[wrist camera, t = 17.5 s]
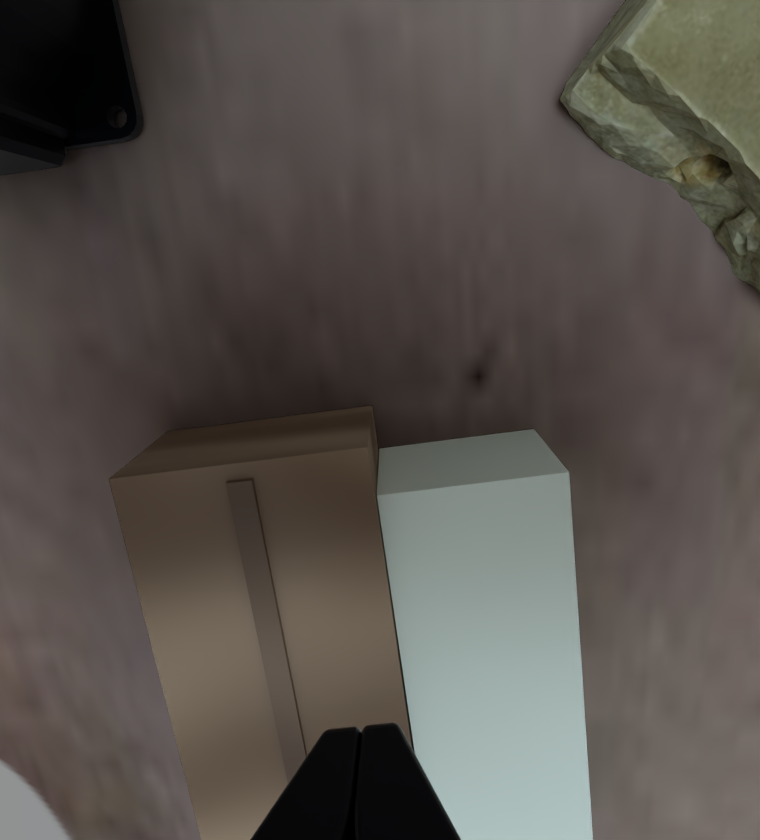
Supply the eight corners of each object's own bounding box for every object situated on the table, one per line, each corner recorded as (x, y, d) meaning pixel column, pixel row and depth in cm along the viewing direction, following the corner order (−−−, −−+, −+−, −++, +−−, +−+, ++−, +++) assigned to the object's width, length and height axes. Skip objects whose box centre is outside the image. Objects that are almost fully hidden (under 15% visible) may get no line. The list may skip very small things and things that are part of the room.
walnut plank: (167, 431, 18) (105, 481, 14) (372, 405, 18) (367, 449, 14) (265, 862, 22) (238, 995, 18) (434, 847, 22) (443, 978, 18)
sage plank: (562, 810, 22) (598, 929, 18) (433, 822, 22) (442, 942, 18) (531, 426, 18) (568, 472, 15) (379, 445, 19) (376, 495, 15)
